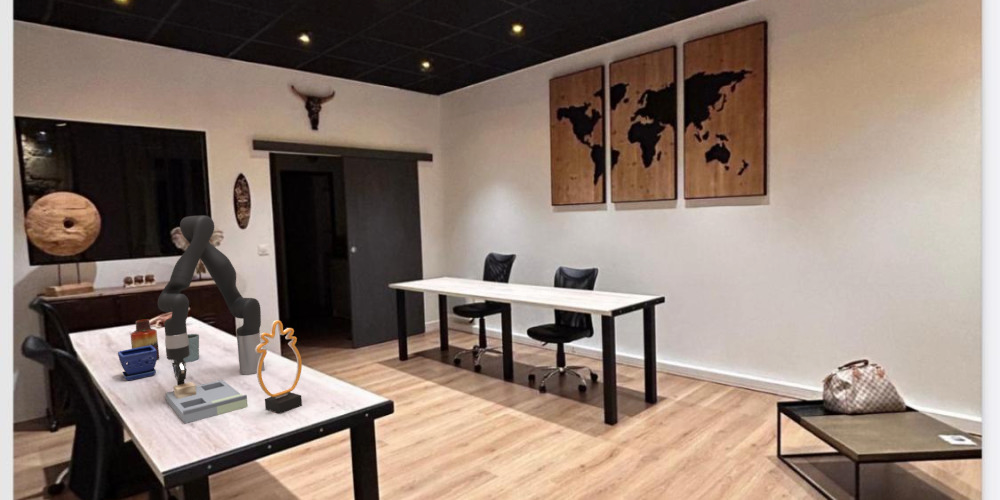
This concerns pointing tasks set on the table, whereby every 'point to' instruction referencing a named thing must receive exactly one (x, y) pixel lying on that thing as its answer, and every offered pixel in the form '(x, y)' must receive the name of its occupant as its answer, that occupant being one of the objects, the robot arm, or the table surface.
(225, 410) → the board
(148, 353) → the flower pot
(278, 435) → the table surface
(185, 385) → the beech block
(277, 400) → the lamp
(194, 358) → the teal cup
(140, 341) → the vase
